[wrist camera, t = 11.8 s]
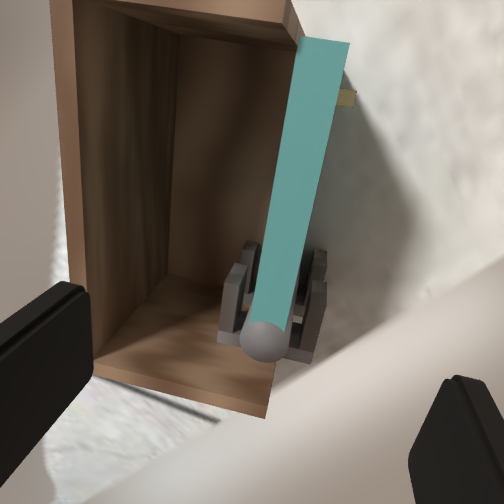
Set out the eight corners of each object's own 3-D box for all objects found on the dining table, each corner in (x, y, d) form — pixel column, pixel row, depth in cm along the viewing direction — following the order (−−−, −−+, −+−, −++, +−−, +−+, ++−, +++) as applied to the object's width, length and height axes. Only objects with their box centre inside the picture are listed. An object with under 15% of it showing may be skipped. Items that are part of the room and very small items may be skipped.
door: (355, 65, 25) (375, 46, 14) (305, 276, 32) (293, 370, 21) (305, 58, 26) (289, 34, 15) (266, 267, 33) (236, 355, 22)
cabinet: (377, 47, 25) (423, 8, 13) (312, 309, 33) (303, 429, 22) (172, 18, 26) (46, -40, 14) (160, 276, 35) (76, 370, 23)
